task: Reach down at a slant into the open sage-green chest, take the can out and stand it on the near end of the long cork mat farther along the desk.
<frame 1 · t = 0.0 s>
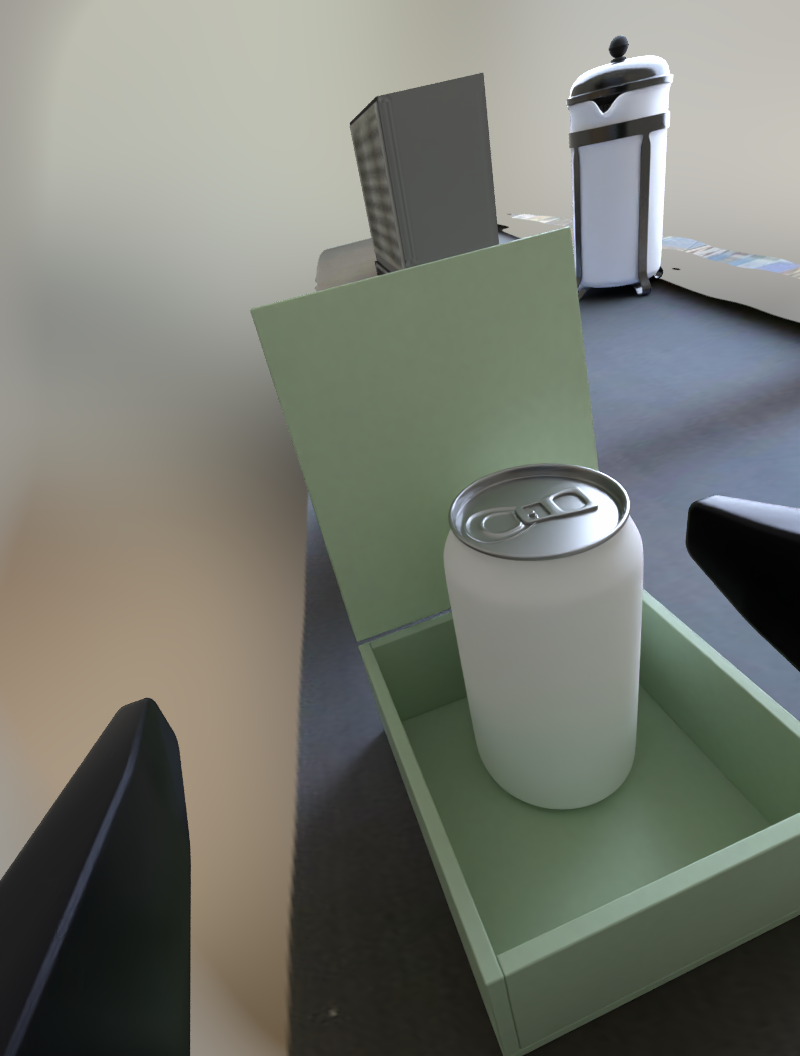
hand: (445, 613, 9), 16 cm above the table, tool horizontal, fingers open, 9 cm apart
cassette tape recorder: (459, 489, 46), on the table
chest: (569, 795, 23), on the table
can: (553, 746, 25), resting on chest
coffee press: (615, 288, 89), on the table
chest lid: (439, 439, 25), point 12 cm above the table, hinge at 100.0°
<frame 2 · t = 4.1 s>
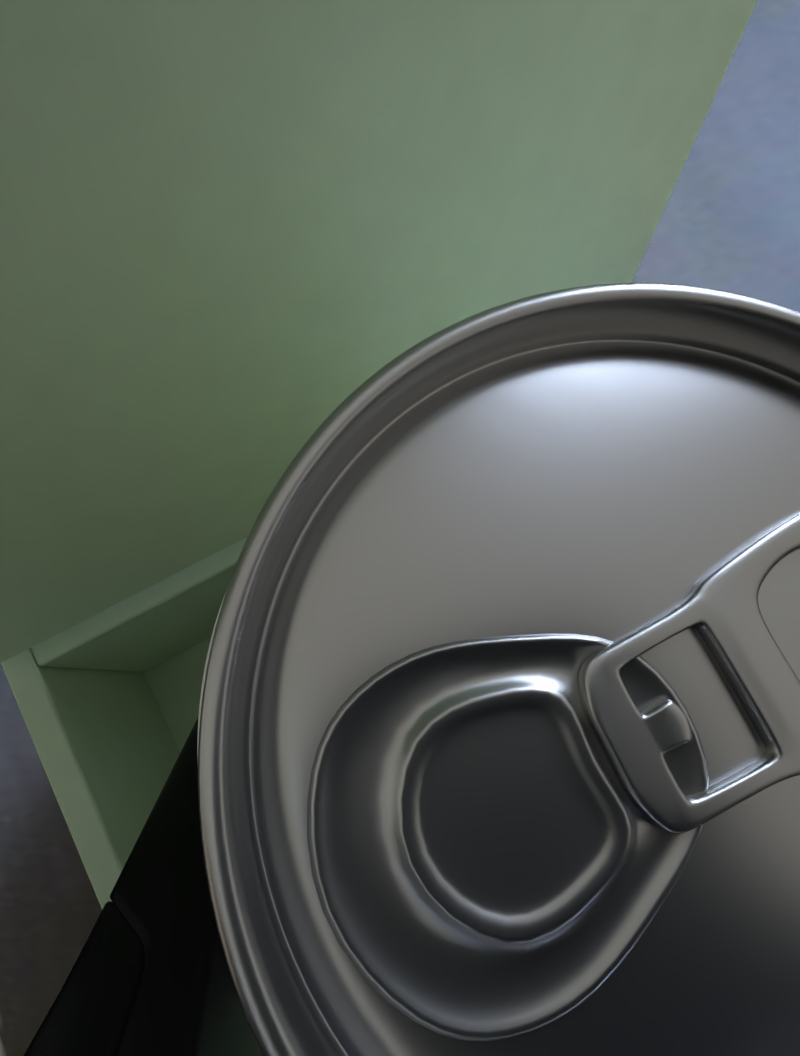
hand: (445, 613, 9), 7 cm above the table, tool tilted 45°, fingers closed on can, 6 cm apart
chest: (454, 773, 15), on the table
can: (431, 692, 15), resting on chest, touching gripper
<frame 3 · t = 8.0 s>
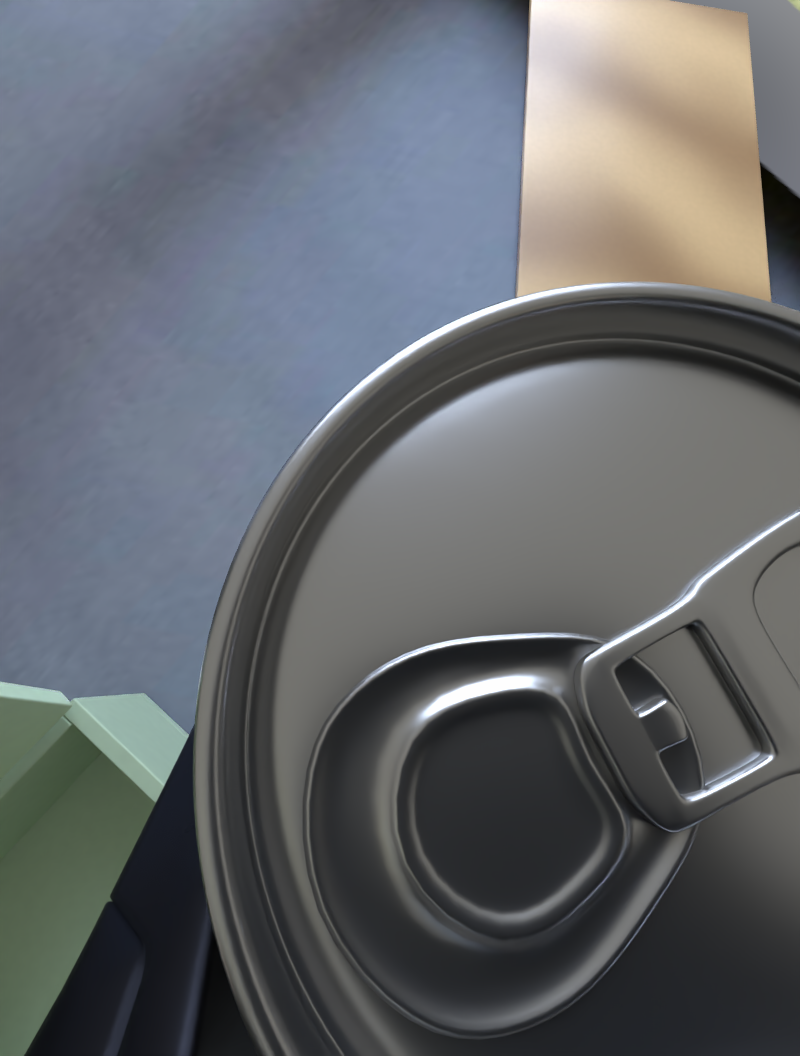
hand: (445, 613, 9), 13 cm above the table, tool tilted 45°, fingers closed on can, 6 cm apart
chest: (148, 973, 19), on the table
cork mat: (642, 284, 27), on the table
can: (431, 692, 15), point 7 cm above the table, touching gripper
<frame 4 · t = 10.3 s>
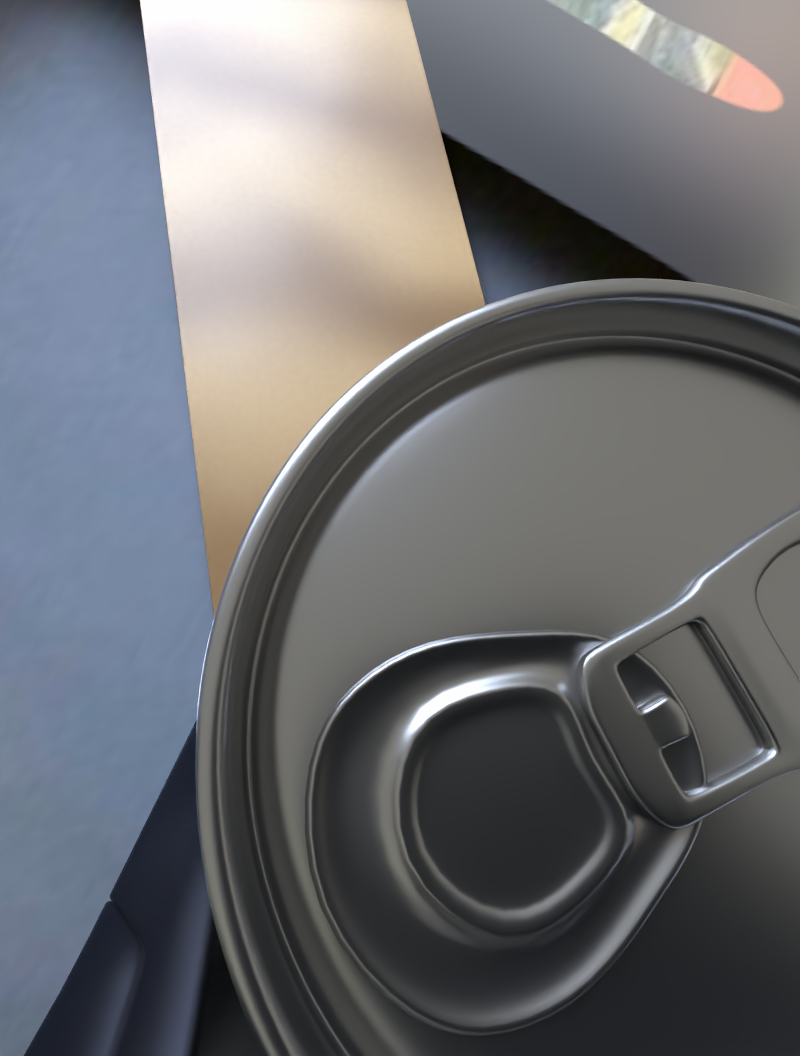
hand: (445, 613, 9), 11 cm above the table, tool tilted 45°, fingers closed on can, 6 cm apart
cork mat: (335, 312, 23), on the table
can: (432, 691, 15), point 5 cm above the table, touching gripper
when the fingers open (7 cm above the table, at t = 12.2 s): can stays where it is, resting on cork mat.
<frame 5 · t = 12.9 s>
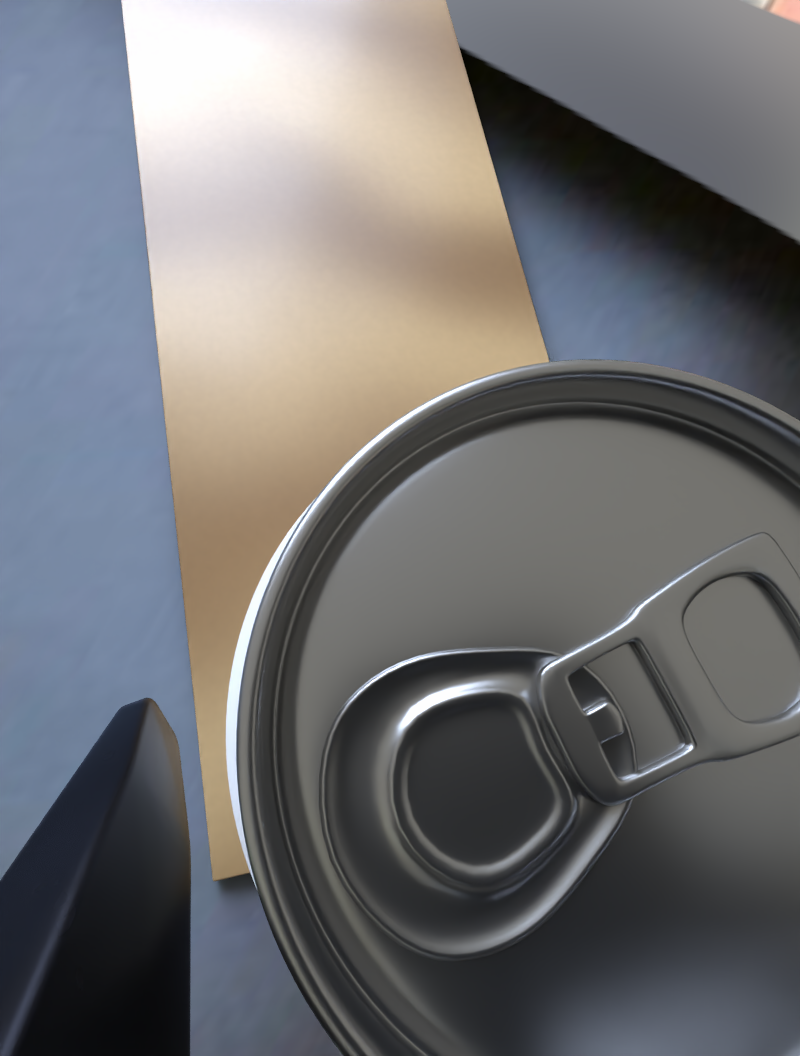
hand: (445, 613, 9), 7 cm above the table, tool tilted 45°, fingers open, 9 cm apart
cork mat: (335, 247, 19), on the table
can: (428, 692, 16), resting on cork mat
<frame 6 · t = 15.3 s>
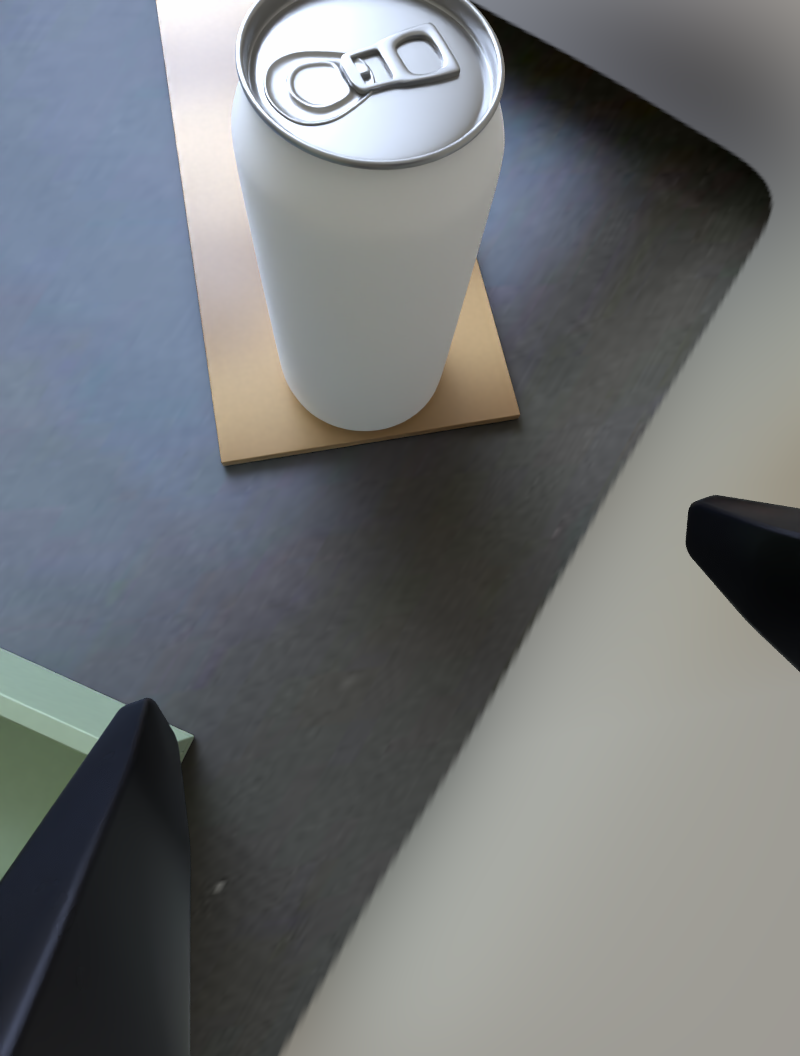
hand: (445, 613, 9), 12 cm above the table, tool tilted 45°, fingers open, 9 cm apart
cork mat: (301, 93, 27), on the table
can: (362, 365, 24), resting on cork mat
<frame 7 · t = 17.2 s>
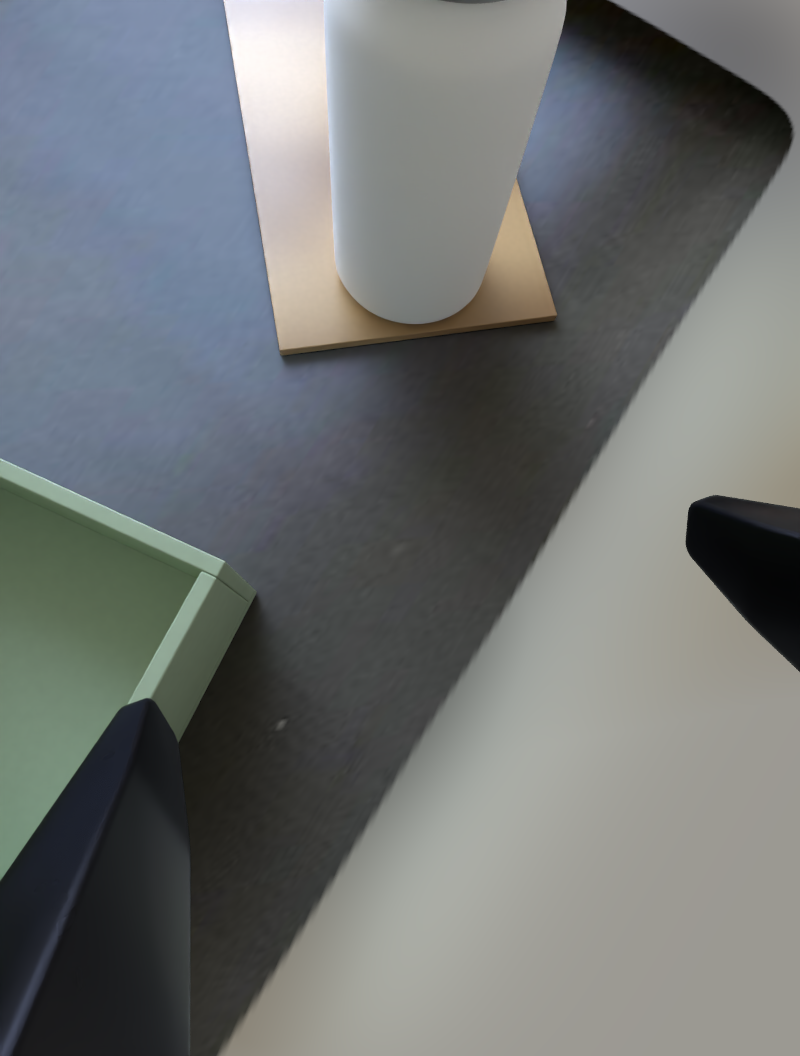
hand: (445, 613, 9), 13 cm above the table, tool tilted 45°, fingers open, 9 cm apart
chest: (6, 670, 20), on the table
cork mat: (350, 25, 29), on the table
can: (409, 268, 25), resting on cork mat
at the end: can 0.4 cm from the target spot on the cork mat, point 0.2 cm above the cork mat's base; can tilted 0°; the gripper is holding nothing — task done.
